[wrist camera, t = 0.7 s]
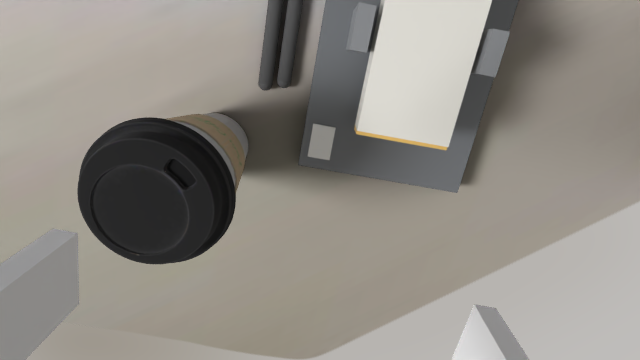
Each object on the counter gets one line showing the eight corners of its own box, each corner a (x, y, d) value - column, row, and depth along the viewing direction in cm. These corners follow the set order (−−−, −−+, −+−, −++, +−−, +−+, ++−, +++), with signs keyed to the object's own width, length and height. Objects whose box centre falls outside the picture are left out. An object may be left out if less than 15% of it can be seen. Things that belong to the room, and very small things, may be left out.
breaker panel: (349, -141, 28) (358, -206, 21) (539, -101, 29) (608, -150, 22) (299, 159, 36) (293, 185, 29) (450, 185, 37) (480, 217, 30)
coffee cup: (280, 117, 35) (249, 161, 21) (248, 204, 38) (202, 295, 24) (181, 77, 34) (78, 96, 20) (156, 170, 37) (50, 245, 23)
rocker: (396, -75, 26) (403, -88, 23) (495, -55, 26) (511, -65, 24) (353, 128, 30) (356, 134, 28) (438, 143, 31) (447, 151, 28)
